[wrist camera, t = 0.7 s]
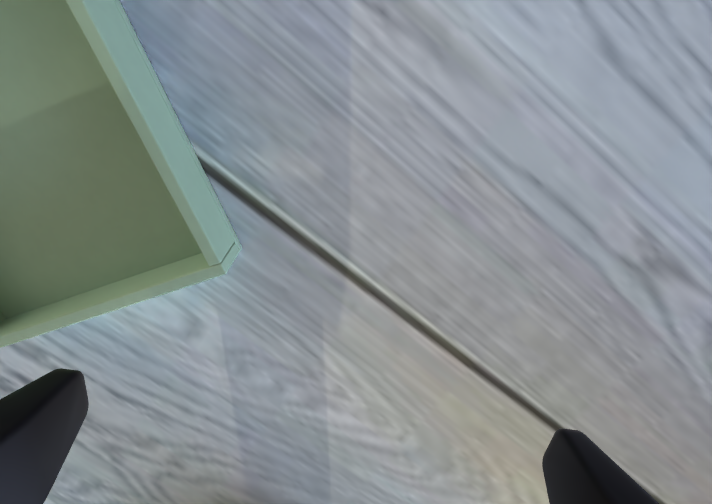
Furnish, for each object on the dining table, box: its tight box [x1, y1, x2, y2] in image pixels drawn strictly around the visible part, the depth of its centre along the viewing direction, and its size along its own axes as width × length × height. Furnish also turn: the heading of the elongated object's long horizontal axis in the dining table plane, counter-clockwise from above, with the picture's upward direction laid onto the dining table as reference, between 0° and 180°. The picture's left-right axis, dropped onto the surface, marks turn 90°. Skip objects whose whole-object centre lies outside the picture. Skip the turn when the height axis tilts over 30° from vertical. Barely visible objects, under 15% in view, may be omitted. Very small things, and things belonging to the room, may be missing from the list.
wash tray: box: [0, 0, 242, 348], centre depth 20 cm, size 16×14×3 cm
